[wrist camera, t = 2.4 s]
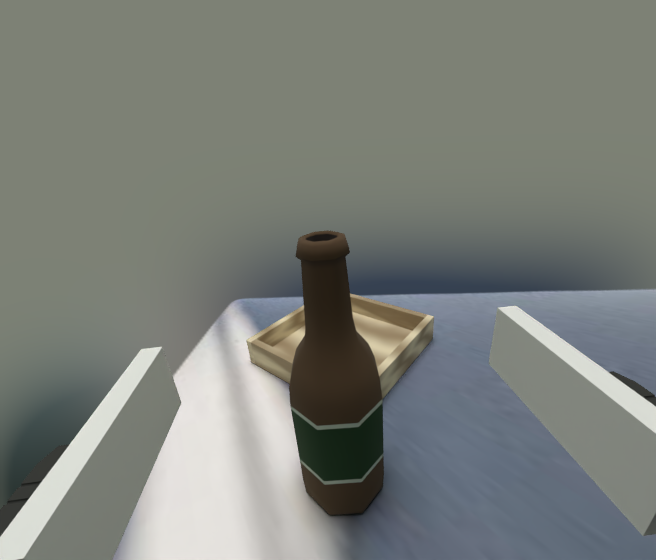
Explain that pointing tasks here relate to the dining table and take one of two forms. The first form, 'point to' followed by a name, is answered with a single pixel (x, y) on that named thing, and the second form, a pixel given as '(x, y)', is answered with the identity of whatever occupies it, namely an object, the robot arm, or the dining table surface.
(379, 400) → the beer bottle
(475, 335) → the dining table surface
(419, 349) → the oak tray
